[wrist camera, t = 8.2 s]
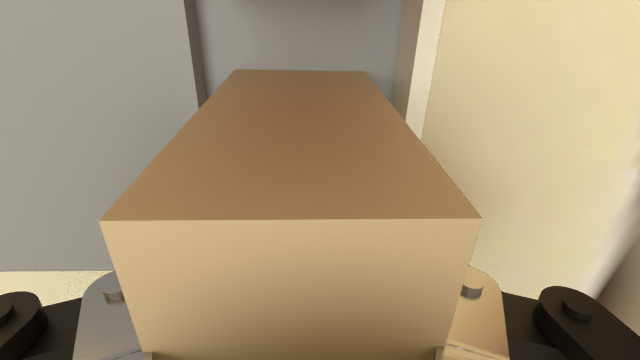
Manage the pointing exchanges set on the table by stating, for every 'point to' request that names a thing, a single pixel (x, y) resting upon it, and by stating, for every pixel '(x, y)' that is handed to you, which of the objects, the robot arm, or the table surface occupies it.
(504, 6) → the table surface
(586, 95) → the table surface
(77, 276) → the table surface
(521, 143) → the table surface
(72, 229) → the shelf board
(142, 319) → the kraft carton
